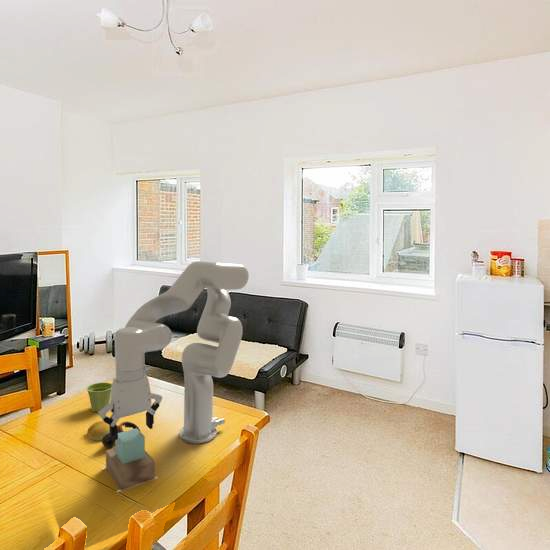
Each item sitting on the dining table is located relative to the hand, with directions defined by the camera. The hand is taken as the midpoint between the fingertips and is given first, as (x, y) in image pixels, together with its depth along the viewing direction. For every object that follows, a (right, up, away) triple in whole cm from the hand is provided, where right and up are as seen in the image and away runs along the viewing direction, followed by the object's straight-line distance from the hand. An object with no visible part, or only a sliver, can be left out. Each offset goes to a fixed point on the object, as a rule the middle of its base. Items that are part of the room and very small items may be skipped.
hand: (132, 432), depth 114 cm
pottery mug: (-10, -11, +16) cm, 22 cm away
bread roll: (-19, -10, +24) cm, 32 cm away
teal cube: (-1, -7, 0) cm, 7 cm away
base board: (-1, -13, 0) cm, 13 cm away
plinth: (-1, -11, 0) cm, 11 cm away
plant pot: (-27, -8, +43) cm, 52 cm away
